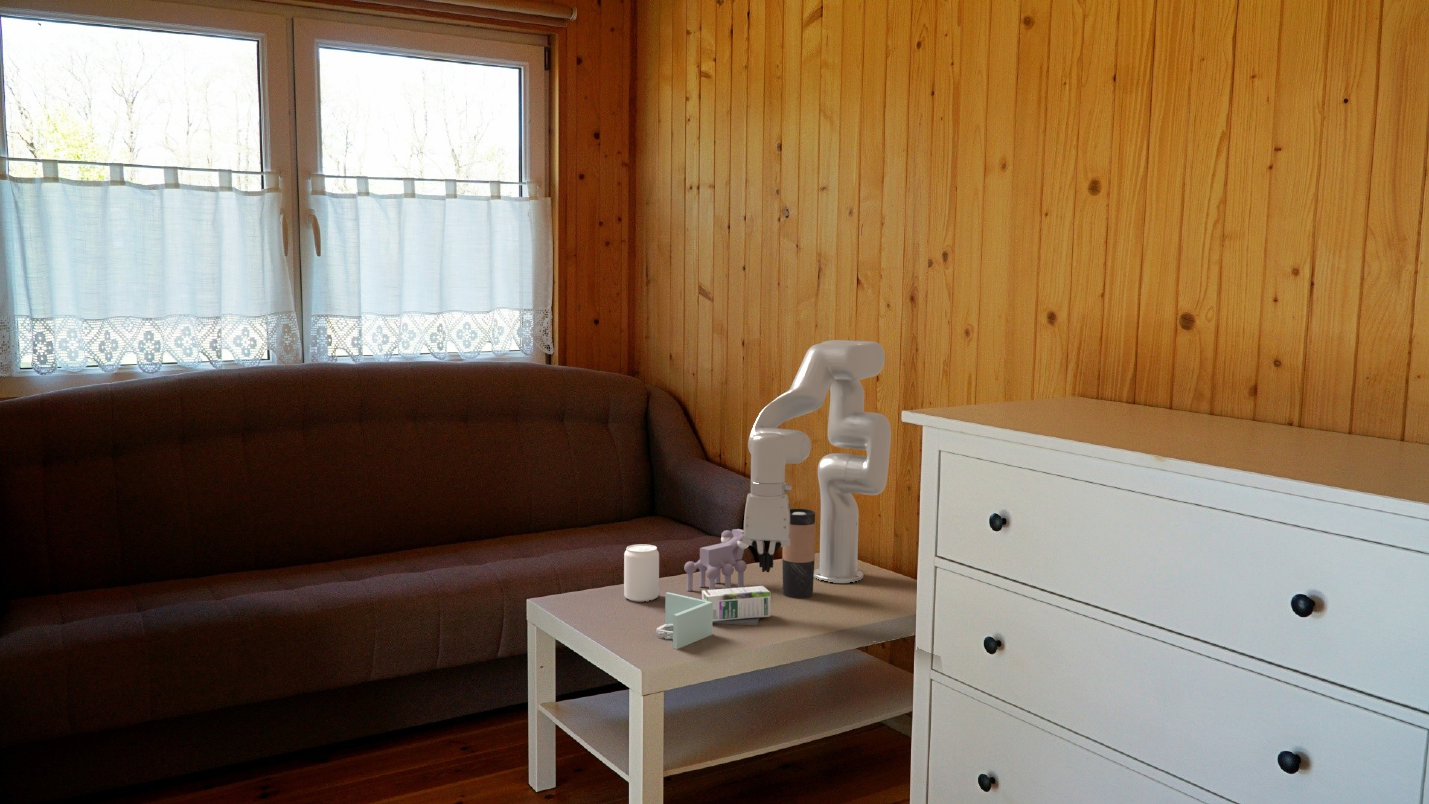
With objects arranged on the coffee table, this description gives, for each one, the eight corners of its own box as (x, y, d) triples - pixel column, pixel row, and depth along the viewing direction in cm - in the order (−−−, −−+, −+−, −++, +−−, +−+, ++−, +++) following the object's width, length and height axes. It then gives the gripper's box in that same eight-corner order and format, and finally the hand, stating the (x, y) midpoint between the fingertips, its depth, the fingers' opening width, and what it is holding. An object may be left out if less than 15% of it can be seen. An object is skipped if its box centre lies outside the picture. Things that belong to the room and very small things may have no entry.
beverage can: (632, 591, 257) (632, 542, 256) (663, 595, 254) (664, 545, 253) (618, 600, 249) (618, 550, 248) (650, 604, 247) (650, 553, 245)
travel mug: (819, 593, 258) (821, 511, 255) (804, 600, 251) (805, 516, 249) (791, 588, 262) (793, 507, 260) (775, 595, 255) (777, 512, 253)
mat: (679, 599, 251) (679, 597, 250) (764, 604, 248) (764, 602, 248) (666, 620, 235) (666, 618, 235) (756, 625, 232) (756, 623, 232)
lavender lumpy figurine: (736, 574, 273) (739, 522, 272) (768, 585, 266) (771, 531, 264) (680, 589, 259) (682, 534, 257) (711, 600, 252) (714, 544, 250)
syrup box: (771, 617, 235) (707, 622, 232) (763, 609, 241) (700, 615, 237) (771, 591, 235) (707, 596, 231) (763, 584, 241) (700, 589, 237)
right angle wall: (667, 625, 233) (668, 592, 232) (712, 637, 226) (712, 602, 225) (631, 639, 223) (631, 604, 223) (676, 652, 216) (677, 615, 215)
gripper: (802, 487, 239) (800, 568, 241) (736, 485, 241) (734, 564, 243) (800, 493, 232) (798, 576, 234) (731, 491, 234) (730, 573, 236)
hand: (766, 570), depth 238 cm, fingers closed
